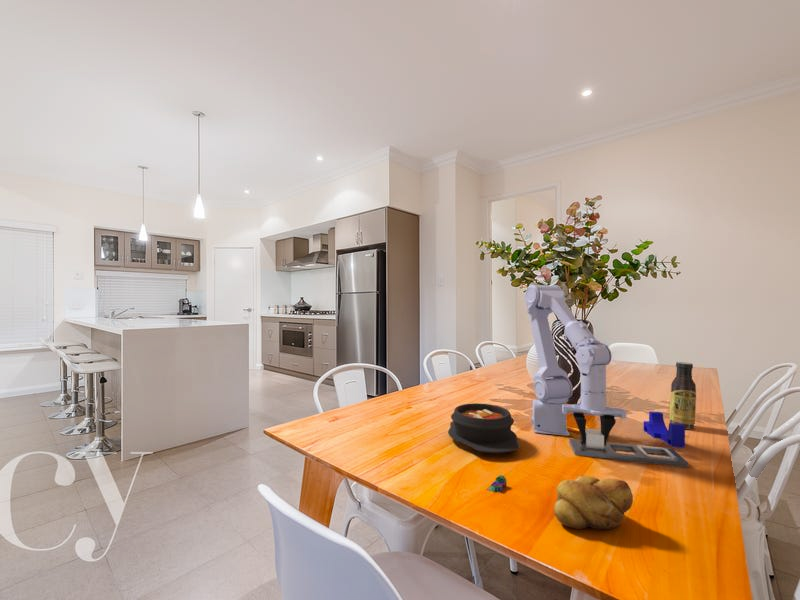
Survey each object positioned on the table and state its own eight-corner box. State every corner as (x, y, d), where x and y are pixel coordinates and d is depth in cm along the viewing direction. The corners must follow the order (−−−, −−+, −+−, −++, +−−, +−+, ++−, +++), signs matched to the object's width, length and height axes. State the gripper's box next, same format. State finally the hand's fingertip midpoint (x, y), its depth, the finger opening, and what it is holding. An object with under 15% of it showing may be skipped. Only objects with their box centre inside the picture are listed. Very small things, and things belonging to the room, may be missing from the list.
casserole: (537, 457, 88) (537, 423, 88) (466, 463, 85) (466, 428, 85) (493, 423, 113) (493, 397, 113) (436, 427, 109) (436, 399, 109)
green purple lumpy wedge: (493, 483, 76) (493, 472, 76) (506, 488, 74) (506, 476, 74) (484, 491, 73) (484, 479, 73) (498, 496, 71) (498, 484, 71)
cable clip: (643, 431, 107) (643, 411, 107) (660, 432, 106) (660, 411, 106) (665, 447, 95) (665, 424, 95) (684, 448, 94) (684, 425, 94)
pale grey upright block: (586, 453, 90) (586, 433, 90) (583, 447, 94) (583, 428, 94) (604, 455, 89) (604, 435, 89) (599, 449, 93) (599, 429, 93)
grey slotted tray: (574, 455, 89) (574, 449, 89) (569, 443, 97) (569, 437, 97) (688, 467, 83) (688, 461, 83) (672, 453, 90) (672, 447, 90)
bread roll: (569, 540, 57) (569, 491, 57) (537, 506, 67) (537, 464, 67) (640, 533, 59) (640, 484, 59) (599, 501, 69) (599, 459, 69)
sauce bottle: (673, 428, 108) (673, 363, 109) (666, 422, 114) (666, 360, 114) (699, 431, 106) (699, 365, 106) (691, 425, 112) (691, 361, 112)
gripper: (565, 392, 90) (565, 445, 90) (630, 396, 86) (630, 452, 86) (560, 385, 97) (560, 435, 97) (621, 389, 93) (621, 441, 93)
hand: (593, 443), depth 92 cm, fingers closed on pale grey upright block, 4 cm apart
